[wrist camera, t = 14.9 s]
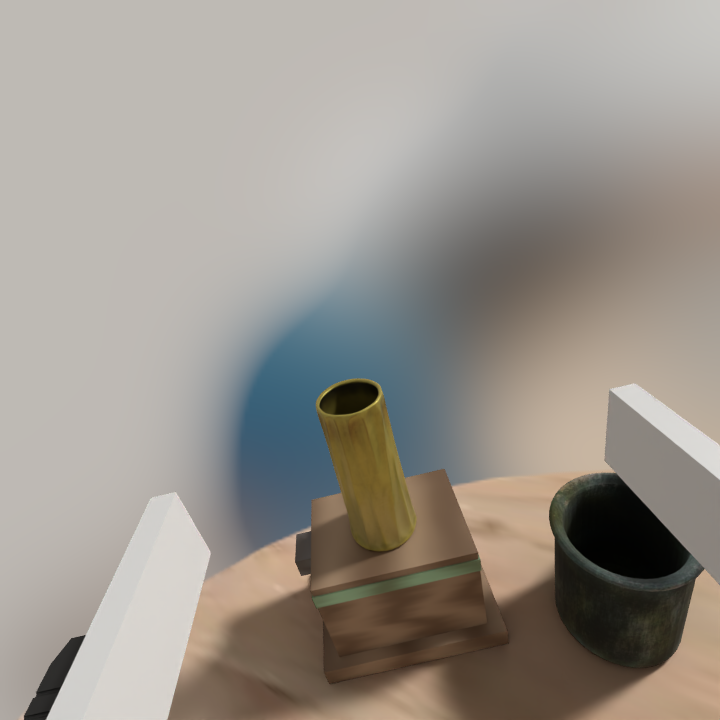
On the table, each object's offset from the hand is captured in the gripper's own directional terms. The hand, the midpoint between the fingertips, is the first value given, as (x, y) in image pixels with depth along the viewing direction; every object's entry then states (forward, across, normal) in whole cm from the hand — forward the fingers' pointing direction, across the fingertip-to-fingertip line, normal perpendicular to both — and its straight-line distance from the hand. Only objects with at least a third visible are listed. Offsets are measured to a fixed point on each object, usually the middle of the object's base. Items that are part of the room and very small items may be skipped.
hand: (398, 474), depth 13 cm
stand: (+18, -2, -34) cm, 38 cm away
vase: (+18, -2, -22) cm, 28 cm away
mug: (+14, +18, -34) cm, 41 cm away
